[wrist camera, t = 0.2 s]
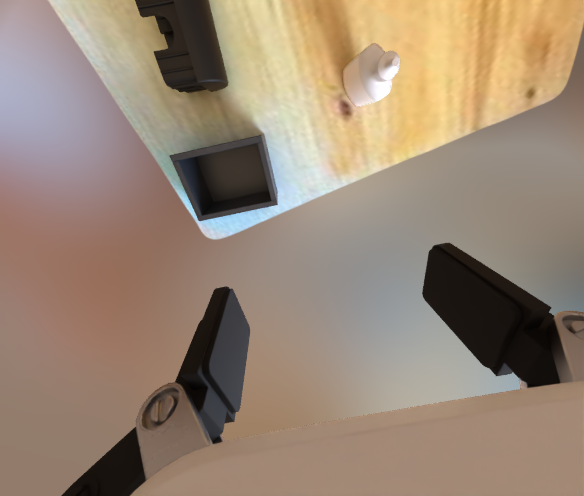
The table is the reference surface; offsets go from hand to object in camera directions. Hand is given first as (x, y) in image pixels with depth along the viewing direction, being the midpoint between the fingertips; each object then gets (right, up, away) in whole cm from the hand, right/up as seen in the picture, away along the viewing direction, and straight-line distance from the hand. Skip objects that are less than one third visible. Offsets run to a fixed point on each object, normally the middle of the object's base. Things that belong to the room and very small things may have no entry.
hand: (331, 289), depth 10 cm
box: (-12, +15, +26) cm, 32 cm away
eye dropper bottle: (+8, +27, +21) cm, 35 cm away
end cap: (-15, +29, +18) cm, 38 cm away
